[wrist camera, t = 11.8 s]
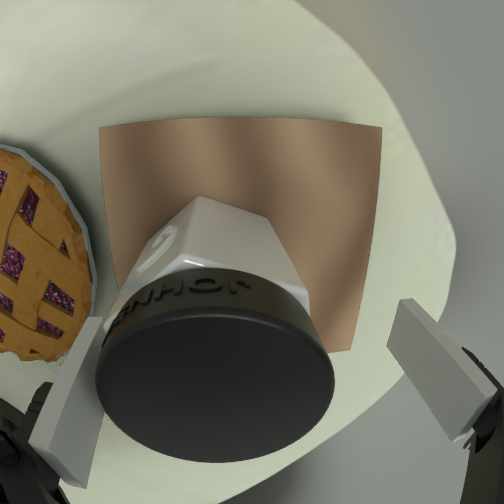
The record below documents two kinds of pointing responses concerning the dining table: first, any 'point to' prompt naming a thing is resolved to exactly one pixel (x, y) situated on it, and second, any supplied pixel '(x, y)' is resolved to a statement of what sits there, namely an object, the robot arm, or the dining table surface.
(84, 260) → the pie
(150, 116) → the dining table surface
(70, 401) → the robot arm
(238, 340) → the jar
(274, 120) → the wooden serving stand
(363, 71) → the dining table surface
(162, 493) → the dining table surface
